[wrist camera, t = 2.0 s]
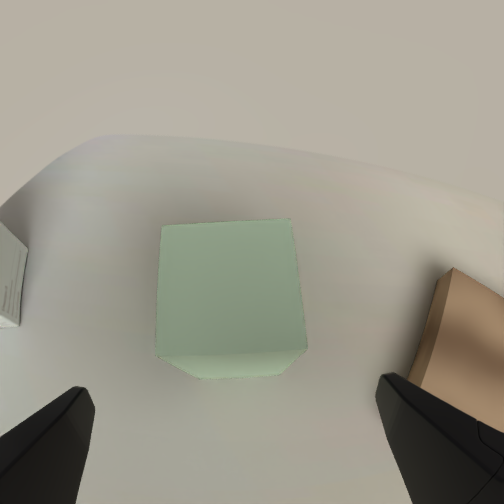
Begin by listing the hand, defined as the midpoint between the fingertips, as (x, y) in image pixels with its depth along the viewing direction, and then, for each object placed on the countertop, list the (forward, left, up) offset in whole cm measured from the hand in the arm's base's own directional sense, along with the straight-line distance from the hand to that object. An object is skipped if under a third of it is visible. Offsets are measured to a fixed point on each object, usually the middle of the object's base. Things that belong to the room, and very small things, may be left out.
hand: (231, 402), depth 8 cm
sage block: (+2, +4, -11) cm, 12 cm away
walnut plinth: (+16, -8, -11) cm, 21 cm away
